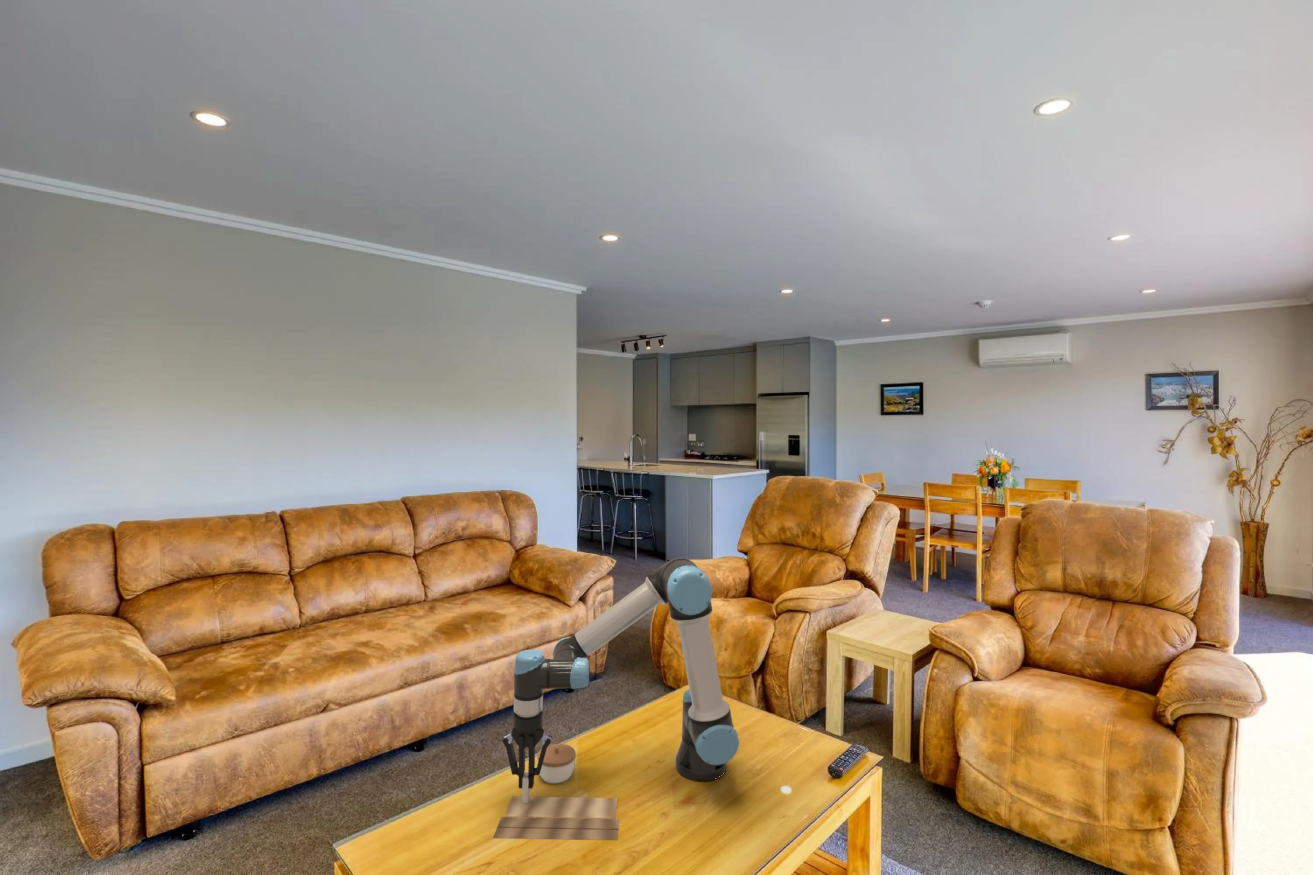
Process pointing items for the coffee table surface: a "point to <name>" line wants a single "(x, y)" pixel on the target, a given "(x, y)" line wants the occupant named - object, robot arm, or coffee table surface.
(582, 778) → the coffee table surface
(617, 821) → the laid board
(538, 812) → the plank
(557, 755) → the lidded jar
